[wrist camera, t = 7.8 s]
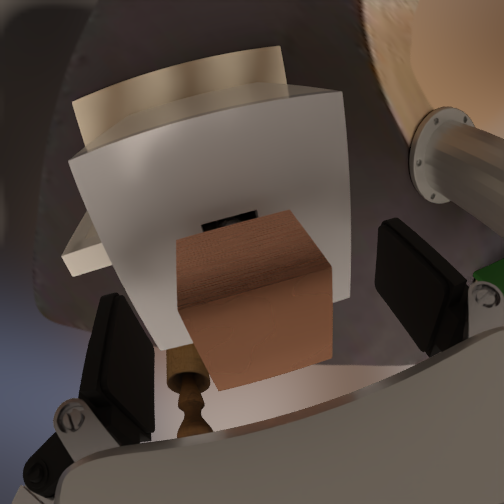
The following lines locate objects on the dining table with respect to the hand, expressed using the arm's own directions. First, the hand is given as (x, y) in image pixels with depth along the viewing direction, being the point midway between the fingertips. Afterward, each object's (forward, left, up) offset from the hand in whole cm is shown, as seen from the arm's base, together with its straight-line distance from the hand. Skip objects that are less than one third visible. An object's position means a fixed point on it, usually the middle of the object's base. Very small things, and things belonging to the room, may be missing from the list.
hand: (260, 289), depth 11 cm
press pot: (+2, 0, -18) cm, 18 cm away
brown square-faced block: (0, 0, -16) cm, 16 cm away
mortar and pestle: (+7, +16, -19) cm, 26 cm away
